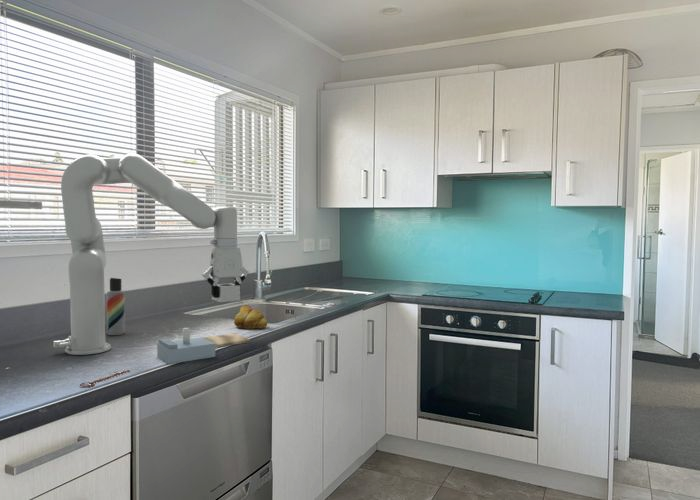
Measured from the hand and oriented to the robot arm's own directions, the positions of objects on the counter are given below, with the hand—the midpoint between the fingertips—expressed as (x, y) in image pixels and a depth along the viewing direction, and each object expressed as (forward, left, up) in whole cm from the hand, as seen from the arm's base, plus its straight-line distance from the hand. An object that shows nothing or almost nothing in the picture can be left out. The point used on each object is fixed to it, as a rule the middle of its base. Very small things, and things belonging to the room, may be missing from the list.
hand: (226, 296), depth 178 cm
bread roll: (+17, +16, -16) cm, 28 cm away
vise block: (-18, -12, -15) cm, 27 cm away
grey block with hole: (0, 0, -1) cm, 1 cm away
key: (-43, -21, -16) cm, 51 cm away
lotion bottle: (-27, +32, -16) cm, 45 cm away
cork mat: (0, 0, -15) cm, 15 cm away
